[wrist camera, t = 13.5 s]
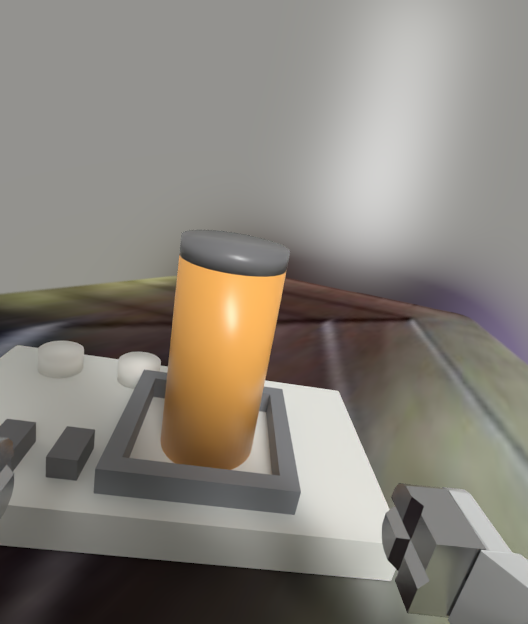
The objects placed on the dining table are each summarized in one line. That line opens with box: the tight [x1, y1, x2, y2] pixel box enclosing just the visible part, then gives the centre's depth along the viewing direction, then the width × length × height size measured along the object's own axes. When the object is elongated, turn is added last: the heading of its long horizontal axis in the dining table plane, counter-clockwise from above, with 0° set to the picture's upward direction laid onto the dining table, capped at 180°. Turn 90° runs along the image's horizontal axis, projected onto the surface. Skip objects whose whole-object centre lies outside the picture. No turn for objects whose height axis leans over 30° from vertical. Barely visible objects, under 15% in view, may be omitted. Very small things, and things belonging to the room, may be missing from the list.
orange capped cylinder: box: [161, 230, 290, 470], centre depth 18 cm, size 4×4×10 cm
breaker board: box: [0, 341, 396, 581], centre depth 21 cm, size 21×12×3 cm, turn 93°
